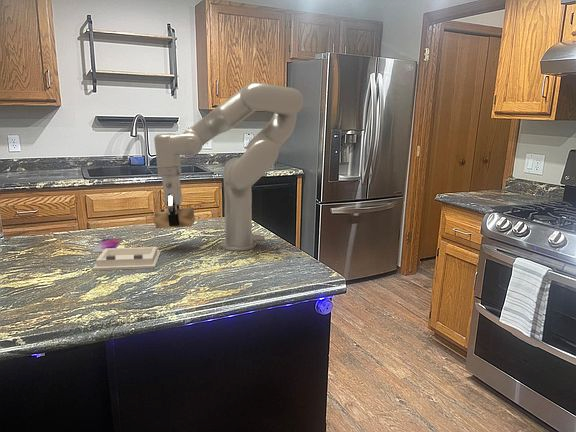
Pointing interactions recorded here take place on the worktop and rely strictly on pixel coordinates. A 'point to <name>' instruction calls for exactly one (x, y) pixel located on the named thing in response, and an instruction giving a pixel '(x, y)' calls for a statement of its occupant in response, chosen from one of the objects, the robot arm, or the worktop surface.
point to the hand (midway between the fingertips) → (175, 222)
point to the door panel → (184, 216)
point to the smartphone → (106, 245)
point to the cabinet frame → (127, 258)
